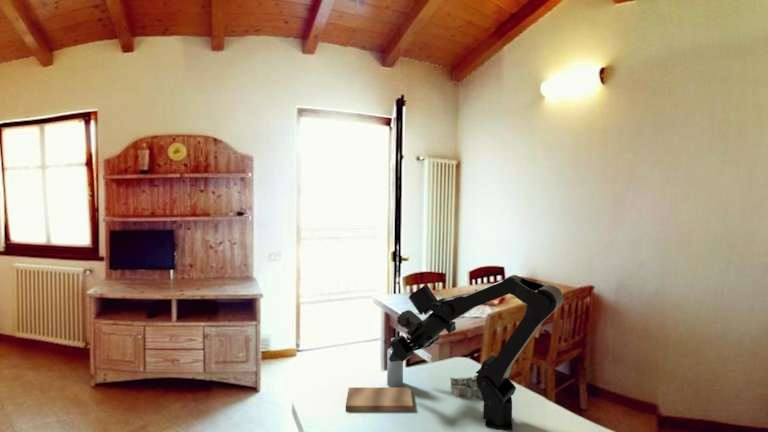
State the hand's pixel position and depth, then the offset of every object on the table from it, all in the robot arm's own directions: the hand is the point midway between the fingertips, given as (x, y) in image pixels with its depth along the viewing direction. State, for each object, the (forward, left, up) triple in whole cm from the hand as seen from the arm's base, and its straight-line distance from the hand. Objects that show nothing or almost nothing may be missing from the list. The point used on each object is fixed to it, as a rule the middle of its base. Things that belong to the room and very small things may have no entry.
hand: (399, 355), depth 118 cm
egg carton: (-21, -2, -10) cm, 23 cm away
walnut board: (+3, +10, -9) cm, 14 cm away
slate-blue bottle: (+1, -1, -9) cm, 10 cm away
